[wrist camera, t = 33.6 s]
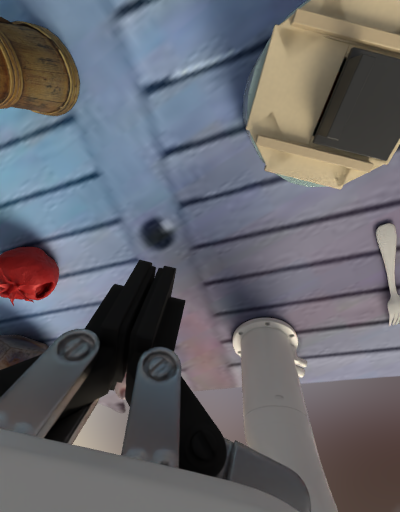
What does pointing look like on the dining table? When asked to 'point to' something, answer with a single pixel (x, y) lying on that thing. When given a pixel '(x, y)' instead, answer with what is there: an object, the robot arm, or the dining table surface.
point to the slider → (364, 106)
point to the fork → (389, 266)
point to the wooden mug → (35, 70)
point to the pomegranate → (27, 274)
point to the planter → (18, 349)
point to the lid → (316, 85)
